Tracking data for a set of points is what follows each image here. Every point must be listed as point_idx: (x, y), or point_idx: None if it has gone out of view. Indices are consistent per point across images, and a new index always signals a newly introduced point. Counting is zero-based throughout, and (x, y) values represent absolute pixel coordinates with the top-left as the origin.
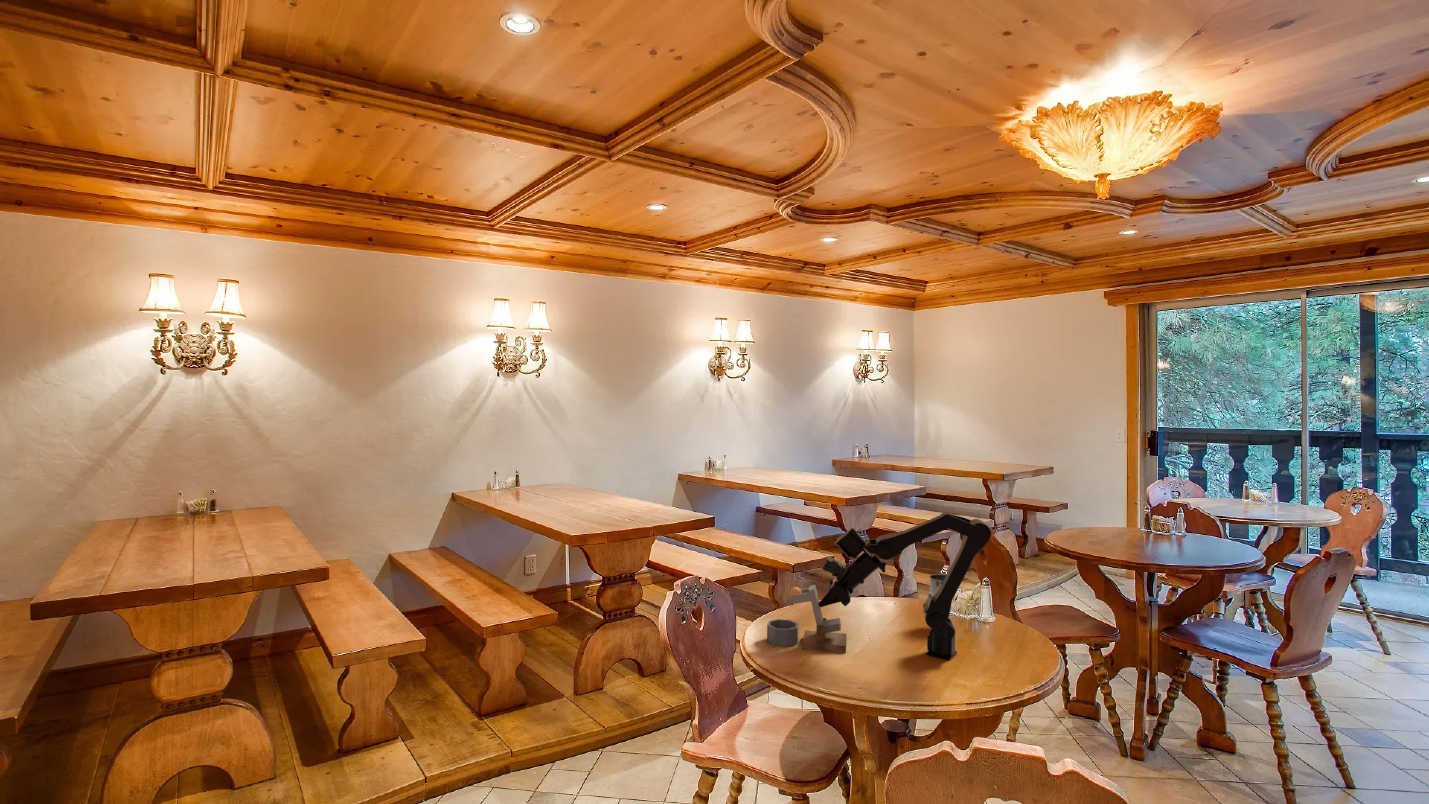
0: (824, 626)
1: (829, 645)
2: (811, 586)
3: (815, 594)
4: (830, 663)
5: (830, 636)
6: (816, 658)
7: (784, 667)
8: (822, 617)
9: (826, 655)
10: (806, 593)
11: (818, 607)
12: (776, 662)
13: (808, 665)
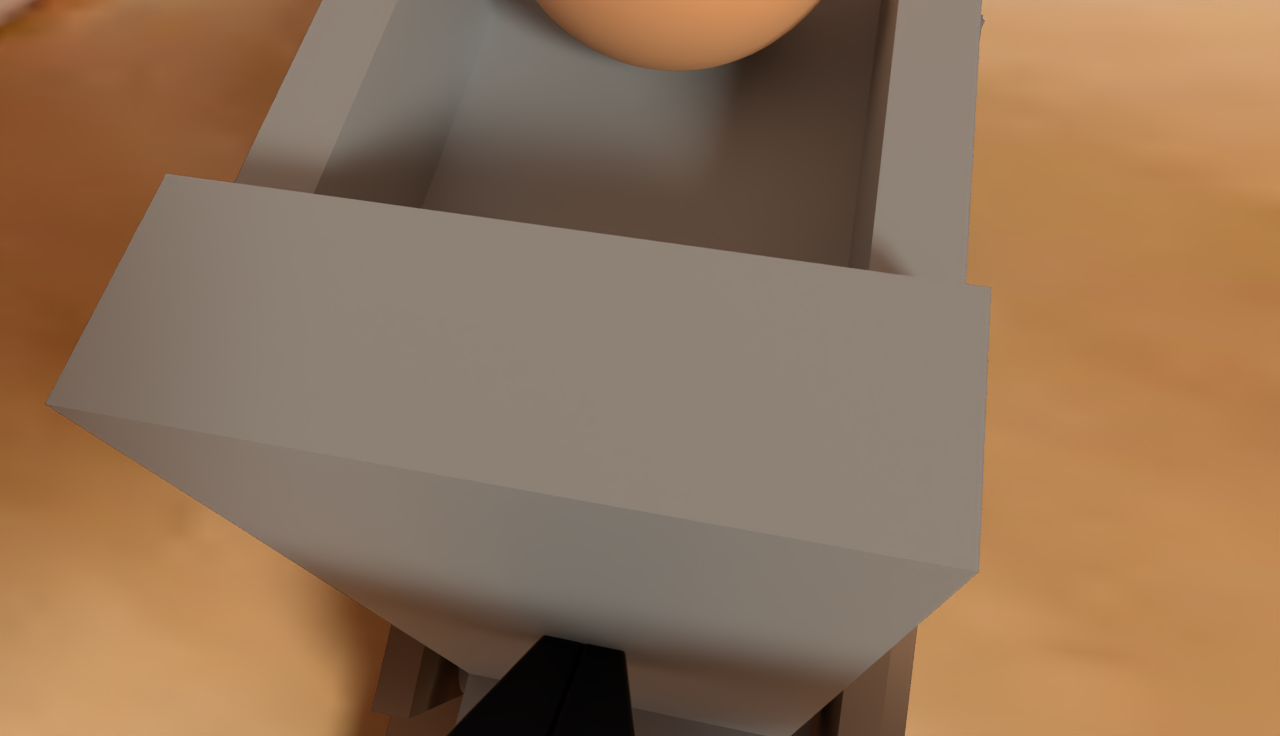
0: (383, 699)
1: (391, 730)
2: (770, 347)
3: (240, 503)
4: (77, 671)
5: None
6: (227, 527)
7: (27, 180)
8: (750, 724)
9: (308, 660)
10: (265, 150)
11: (397, 612)
12: (151, 110)
13: (49, 417)
